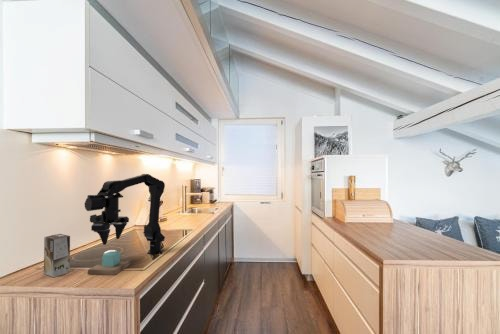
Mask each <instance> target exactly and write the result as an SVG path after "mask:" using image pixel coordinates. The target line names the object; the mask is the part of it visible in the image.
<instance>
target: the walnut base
mask: <svg viewBox="0 0 500 334" xmlns="http://www.w3.org/2000/svg"><path fill="white" fill-rule="evenodd" d="M131 265H133V260H132V259H124V258H123V259H121V258H120V263H118V264H117V265H115V266H113V267H105V266H102V262H100V263H98V264H97V265H94V266H92V267H91V268H89V269H87V275H89V276H91V275H92V276H93V275H94V276H115V275H117V274H119V273H120V272H121V271H123V270H125V269H126V268H128V267H130V266H131Z"/></svg>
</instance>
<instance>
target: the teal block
mask: <svg viewBox="0 0 500 334" xmlns="http://www.w3.org/2000/svg"><path fill="white" fill-rule="evenodd" d="M101 259H102V260H101V263H102V266H105V267H113V266H115V265H117V264H118V263H120V259H121V252H120V251H116V252H108V253H106V254H104V253H103V254H102V258H101Z"/></svg>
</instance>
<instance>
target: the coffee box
mask: <svg viewBox="0 0 500 334" xmlns="http://www.w3.org/2000/svg"><path fill="white" fill-rule="evenodd" d="M43 254H44V255H43V274H44V275H46V276H49V277H51V278H56V277H60V276H62V275H66V274H69V273H70V266H71V265H70V263H71V262H70V259H71V256H70V255H71V236H70V235H69V234H68V235H67V234H62V233H57V234H56V233H55V234H52V235H48V236H44V238H43Z"/></svg>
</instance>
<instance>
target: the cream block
mask: <svg viewBox="0 0 500 334" xmlns="http://www.w3.org/2000/svg"><path fill="white" fill-rule="evenodd" d="M108 252H117V250H115V249H108V250H107V251H105V252H103V255H104V254H106V253H108Z"/></svg>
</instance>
